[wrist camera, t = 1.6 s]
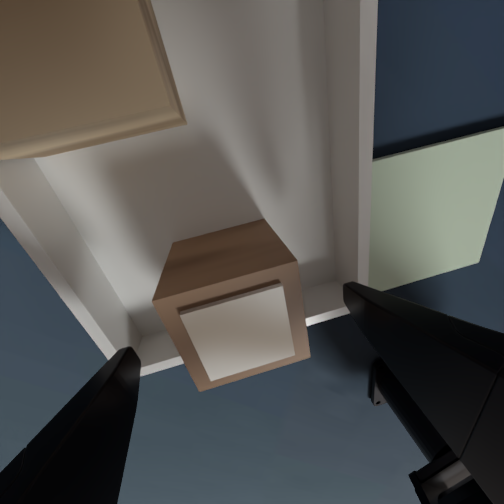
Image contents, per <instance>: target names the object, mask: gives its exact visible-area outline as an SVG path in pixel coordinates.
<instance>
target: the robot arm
mask: <svg viewBox="0 0 504 504" xmlns="http://www.w3.org/2000/svg"><path fill="white" fill-rule="evenodd" d="M343 301H344V303H345V305H346V307H347V308H348V310H349V312H350V313H351V315H352V317H353V318H354V320H355V321H356V323H357V325H358V326H359V328H360V330H361V331H362V333H363V334H364V336H365V337H366V338H367V340H368V341H369V342H370V344H371V345H372V346H373V348H374V349H375V350H376V351H377V353H378V354H379V355H380V357H381V358H382V359H381V360H378V361H376V362H375V363H374V364H373V375H372V392H371V402H372V403H373V405H374V406H378V405H381V404H384V403H388V404H389V406H390V407H391V409H392V410H393V412H394V413H395V414H396V416H397V417H398V419H399V420H400V422H401V423H402V424H403V426H404V427H405V429H406V430H407V432H408V433H409V434H410V436H411V437H412V439H413V440H414V442H415V443H416V444H417V446H418V447H419V449H420V450H421V452H422V453H423V454H424V456H425V457H426V459H427V460H428V461H429V464H427V465H426V466H424V467H423V468H421V469H419V470H418V471H413V472H412V473H410V474H409V477H410V479H411V482H412V484H413V486H414V488H415V492H416V494H417V496H418V498H419V500H420V502H421V504H504V333H501V332H498V331H494V330H491V329H488V328H485V327H482V326H479V325H476V324H473V323H470V322H467V321H464V320H461V319H458V318H455V317H453V316H447V314H444V313H441V312H438V311H435V310H433V309H430V308H427V307H424V306H421V305H419V304H416V303H413V302H410V301H407V300H405V299H402V298H399V297H396V296H393V295H391V294H388V293H385V292H382V291H379V290H376V289H374V288H371V287H368V286H365V285H362V284H360V283H357V282H354V281H351V282H347V283H344V284H343ZM140 372H141V360H140V358H139V357H138V355H137V354H136V352H135V351H134V349H133V348H132V347H131V346H128V347H124V348H121V349H119V350H118V351H117V352H116V353H115V354H114V355H113V356H112V357H111V358H110V359H109V360H108V361H107V362H106V363H105V364H104V366H103V367H102V368H101V369H100V370H99V371H98V372H97V373H96V374H95V375H94V376H93V377H92V378H91V379H90V380H89V381H88V382H87V383H86V384H85V385H84V386H83V387H82V388H81V389H80V390H79V392H78V393H77V394H76V395H75V396H74V397H73V398H72V399H71V400H70V401H69V402H68V403H67V404H66V405H65V406H64V407H63V408H62V409H61V410H60V411H59V412H58V413H57V414H56V415H55V416H54V418H53V419H52V420H51V421H50V422H49V423H48V424H47V425H46V426H45V427H44V428H43V429H42V430H41V431H40V432H39V433H38V434H37V435H36V436H35V437H34V438H33V439H32V440H31V441H30V442H29V444H28V445H27V447H26V448H24V449H23V450H22V451H21V452H20V453H19V454H18V455H17V456H16V457H15V458H14V459H13V460H12V461H11V462H10V463H9V464H8V465H7V466H6V467H5V468H4V469H3V470H2V471H1V472H0V504H117V502H118V497H119V492H120V487H121V482H122V477H123V472H124V467H125V462H126V457H127V452H128V447H129V443H130V438H131V433H132V428H133V423H134V418H135V413H136V408H137V401H138V392H139V382H140Z"/></svg>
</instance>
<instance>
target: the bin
mask: <svg viewBox="0 0 504 504" xmlns="http://www.w3.org/2000/svg"><path fill="white" fill-rule="evenodd" d="M151 3H152V7H153V10H154V13H155V17H156V20H157V23H158V27H159V30H160V33H161V37H162V40H163V44H164V47H165V50H166V54H167V57H168V60H169V64H170V67H171V70H172V74H173V77H174V80H175V84H176V87H177V91H178V94H179V97H180V101H181V104H182V107H183V111H184V114H185V117H186V121H187V125H182V126H178V127H174V128H169V129H165V130H161V131H156V132H152V133H148V134H143V135H139V136H134V137H130V138H126V139H121V140H117V141H113V142H108V143H104V144H99V145H95V146H91V147H86V148H82V149H78V150H73V151H69V152H65V153H60V154H56V155H51V156H47V157H38V158H23V159H8V160H0V218H1V219H2V220H3V222H4V223H5V224H6V226H7V227H8V228H9V230H10V231H11V232H12V234H13V235H14V236H15V238H16V239H17V240H18V241H19V243H20V244H21V245H22V247H23V248H24V249H25V251H26V252H27V253H28V255H29V256H30V257H31V259H32V260H33V261H34V263H35V264H36V265H37V267H38V268H39V269H40V270H41V272H42V273H43V274H44V276H45V277H46V278H47V280H48V281H49V282H50V284H51V285H52V286H53V288H54V289H55V290H56V292H57V293H58V294H59V296H60V297H61V298H62V299H63V301H64V302H65V303H66V305H67V306H68V307H69V309H70V310H71V311H72V313H73V314H74V315H75V317H76V318H77V319H78V321H79V322H80V323H81V325H82V326H83V327H84V329H85V330H86V331H87V332H88V334H89V335H90V336H91V338H92V339H93V340H94V342H95V343H96V344H97V346H98V347H99V348H100V350H101V351H102V352H103V354H104V355H105V356H106V358H107V359H108V360H109V359H110V358H111V357H112V356H113V355H114V354H115V353H116V352H117V351H118V350H119V349H121V348H124V347H128V346H131V347H132V348H133V349H134V351H135V352H136V354H137V355H138V357H139V358H140V360H141V372H140V376H144V375H147V374H150V373H154V372H157V371H160V370H164V369H167V368H170V367H173V366H177V365H180V364H183V363H184V362H183V360H182V358H181V356H180V354H179V352H178V351H177V349H176V347H175V345H174V343H173V341H172V339H171V337H170V335H169V334H168V332H167V330H166V328H165V326H164V324H163V322H162V320H161V318H160V317H159V315H158V313H157V311H156V309H155V307H154V305H153V303H152V299H153V296H154V293H155V290H156V288H157V285H158V282H159V279H160V277H161V274H162V271H163V268H164V265H165V263H166V260H167V257H168V254H169V252H170V249H171V246H172V243H173V242H177V241H181V240H185V239H188V238H192V237H196V236H200V235H203V234H207V233H211V232H215V231H219V230H222V229H226V228H230V227H234V226H238V225H241V224H245V223H249V222H253V221H256V220H260V219H265V220H266V221H267V222H268V224H269V225H270V226H271V227H272V229H273V230H274V231H275V233H276V234H277V235H278V236H279V238H280V239H281V240H282V241H283V243H284V244H285V245H286V246H287V248H288V249H289V250H290V252H291V253H292V254H293V255H294V257H295V258H296V259H297V260H298V267H299V274H300V282H301V289H302V297H303V304H304V312H305V319H306V326H309V325H313V324H316V323H319V322H323V321H326V320H329V319H332V318H336V317H339V316H342V315H346V314H349V313H350V312H349V310H348V308H347V307H346V305H345V303H344V301H343V284H344V283H347V282H351V281H354V282H357V283H360V284H362V285H365V286H368V275H369V246H370V216H371V187H372V157H373V128H374V99H375V69H376V40H377V10H378V0H151Z"/></svg>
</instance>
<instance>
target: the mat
mask: <svg viewBox="0 0 504 504" xmlns="http://www.w3.org/2000/svg"><path fill="white" fill-rule="evenodd" d="M503 179H504V126H502V127H498V128H494V129H490V130H486V131H482V132H478V133H474V134H470V135H466V136H463V137H459V138H455V139H451V140H447V141H443V142H439V143H435V144H431V145H427V146H423V147H419V148H415V149H411V150H407V151H403V152H400V153H396V154H392V155H388V156H384V157H380V158H376V159H372V187H371V216H370V246H369V275H368V287H371V288H374V289H376V290H379V291H384V290H388V289H391V288H394V287H398V286H401V285H405V284H408V283H411V282H415V281H418V280H421V279H425V278H428V277H431V276H435V275H438V274H441V273H445V272H448V271H452V270H455V269H458V268H462V267H465V266H468V265H472V264H475V263H478V262H479V260H480V257H481V253H482V250H483V247H484V243H485V240H486V236H487V233H488V230H489V226H490V223H491V219H492V216H493V213H494V209H495V206H496V202H497V199H498V196H499V192H500V189H501V185H502V182H503Z"/></svg>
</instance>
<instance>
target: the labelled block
mask: <svg viewBox="0 0 504 504" xmlns="http://www.w3.org/2000/svg"><path fill="white" fill-rule="evenodd" d="M152 303H153V305H154V307H155V309H156V311H157V313H158V315H159V317H160V318H161V320H162V322H163V324H164V326H165V328H166V330H167V332H168V334H169V335H170V337H171V339H172V341H173V343H174V345H175V347H176V349H177V351H178V352H179V354H180V356H181V358H182V360H183V362H184V364H185V366H186V368H187V369H188V371H189V373H190V375H191V377H192V379H193V381H194V383H195V384H196V386H197V388H198V390H199V392H201V391H204V390H208V389H211V388H214V387H217V386H220V385H224V384H227V383H230V382H233V381H236V380H240V379H243V378H246V377H249V376H252V375H256V374H259V373H262V372H265V371H268V370H272V369H275V368H278V367H281V366H284V365H288V364H291V363H294V362H297V361H300V360H304V359H307V358H310V357H311V356H310V349H309V342H308V334H307V327H306V319H305V312H304V304H303V297H302V289H301V282H300V274H299V267H298V260H297V259H296V258H295V257H294V255H293V254H292V253H291V252H290V250H289V249H288V248H287V246H286V245H285V244H284V243H283V241H282V240H281V239H280V238H279V236H278V235H277V234H276V233H275V231H274V230H273V229H272V227H271V226H270V225H269V224H268V222H267V221H266V220H265V219H260V220H256V221H253V222H249V223H245V224H241V225H238V226H234V227H230V228H226V229H222V230H219V231H215V232H211V233H207V234H203V235H200V236H196V237H192V238H188V239H185V240H181V241H177V242H173V243H172V246H171V249H170V252H169V254H168V257H167V260H166V263H165V265H164V268H163V271H162V274H161V277H160V279H159V282H158V285H157V288H156V290H155V293H154V296H153V299H152Z"/></svg>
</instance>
